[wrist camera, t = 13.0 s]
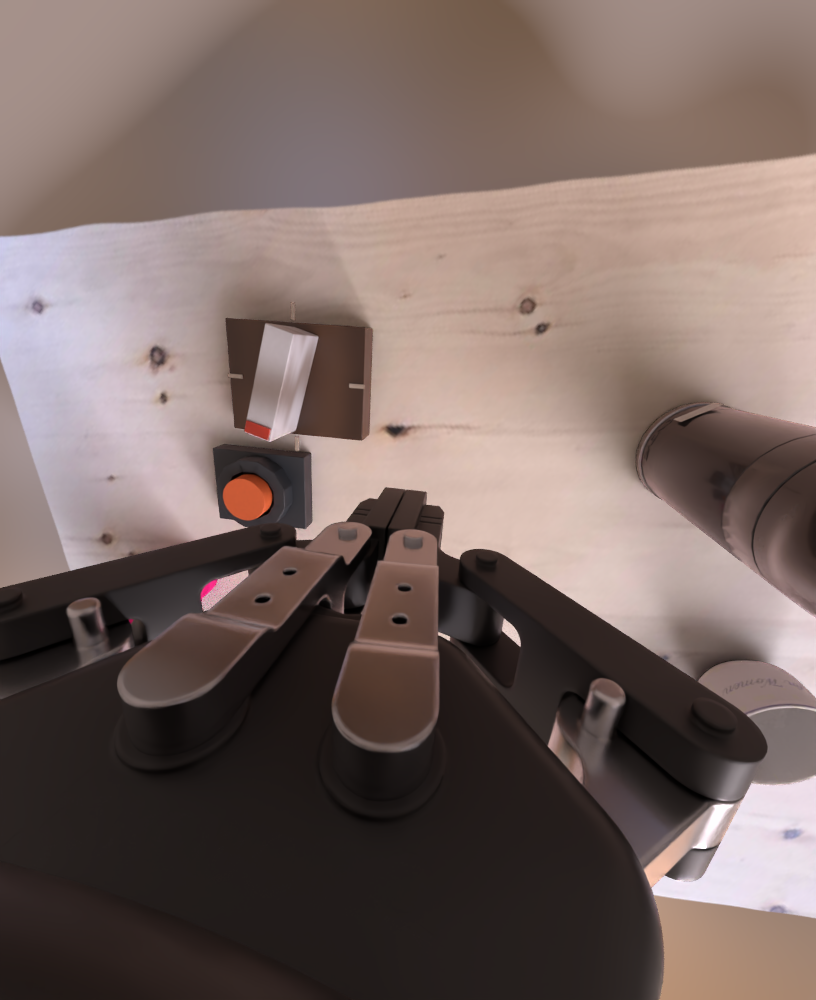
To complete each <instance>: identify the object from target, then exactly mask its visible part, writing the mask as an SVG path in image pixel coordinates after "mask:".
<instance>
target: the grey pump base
mask: <svg viewBox="0 0 816 1000" xmlns="http://www.w3.org/2000/svg"><path fill="white" fill-rule="evenodd" d="M213 456H214V465H215V475H216V484H217V494H218V504H219V513H220V518H224V519H232V520H235V521H236V522H238V523H240V524H241V525H243V526H245V527H252V526H256V525H260V524H266V523H283V524H288V525H290V526H292V527H295V528H303V529H306V528H307V527H308V526H309V525H310V524H311V523H312V481H311V453H304V452H294V451H284V450H275V449H265V448H256V447H246V446H237V445H227V444H223V445H220V446H217V447H214V448H213ZM244 474H254V475H257V476H259V477H261V478H262V479H263V480H264V481H266V483H267V484H268V485H269V487H270V489H271V491H272V504H271V506H270V508H269V509H268V510H267V511H266V512H264V513H263V514H262V515H260V516H259V517H258V518H256V519H254V520H242V519H239V518H237V517H235V516H234V515H233V514H232V513H230V511H229V510H228V509H227V507H226V506H225V503H224V500H223V491H224V488H225V486H226V485H227V484H228V483H229V482H230V481H232V480H233V479H235V478H237V477H239V476H241V475H244Z"/></svg>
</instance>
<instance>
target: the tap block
mask: <svg viewBox="0 0 816 1000" xmlns="http://www.w3.org/2000/svg"><path fill="white" fill-rule="evenodd" d="M290 304H291V320H295V303H294V302H290ZM266 323H268V324H276V325H283V326H291V327H296V328H299V329H301V330H304V331H306V332H309V333H312V334H314V335H317V336H318V337H319V338H318V342H317V346H316V350H315V354H314V358H313V362H312V366H311V370H310V375H309V379H308V383H307V387H306V391H305V395H304V399H303V403H302V407H301V411H300V415H299V420H298V424H297V428H296V431H293V432H291V433H292V434H302V435H312V436H322V437H332V438H342V439H352V440H363V439H364V438H365V437H367V436H368V435H369V427H370V397H371V367H372V337H373V329H370V328H366V327H353V326H338V325H323V324H308V323H293V322H278V321H263V320H248V319H233V318H226V330H227V342H228V354H229V366H230V374H229V373H228V377H229V378H231V390H232V402H233V414H234V426H235V428H241V429H245V425H246V420H247V415H248V410H249V405H250V400H251V394H252V389H253V384H254V379H255V374H256V369H257V364H258V358H259V353H260V348H261V343H262V338H263V333H264V328H265V324H266ZM295 450H296V451H299V436H295Z"/></svg>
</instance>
